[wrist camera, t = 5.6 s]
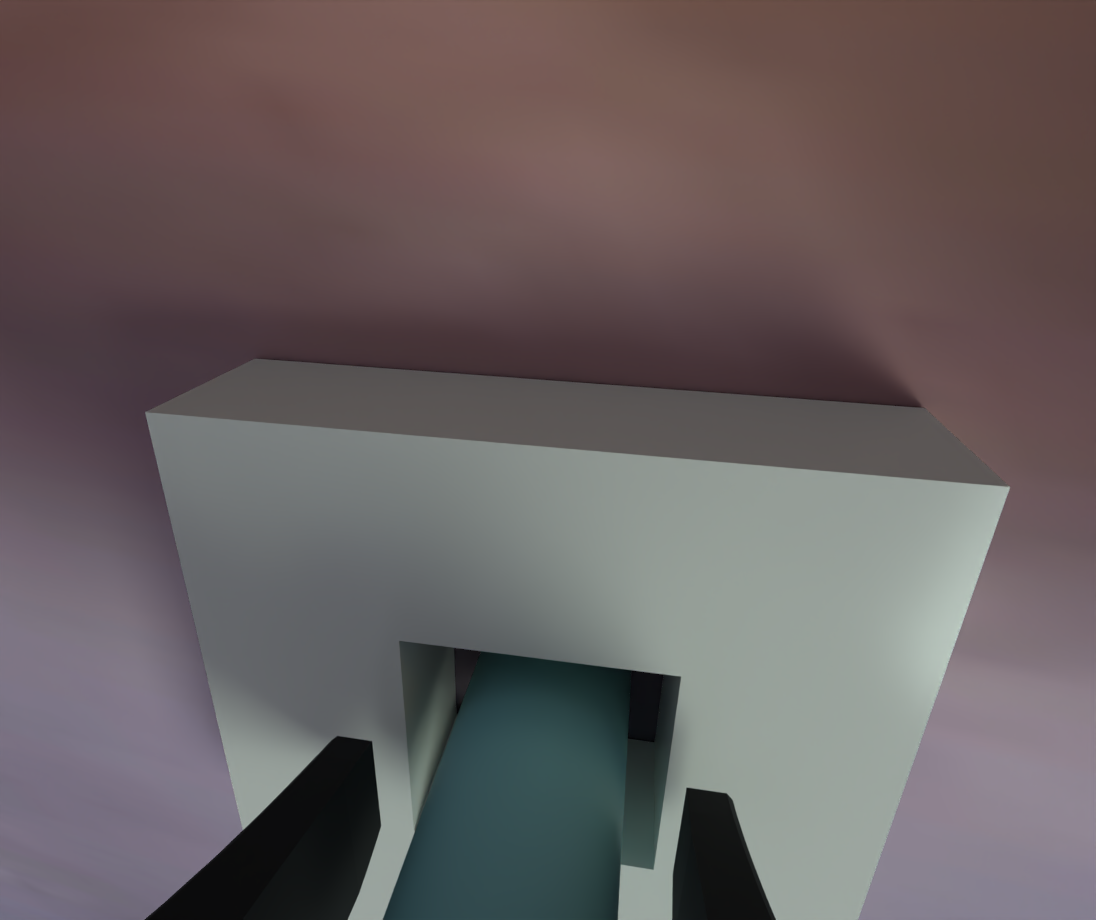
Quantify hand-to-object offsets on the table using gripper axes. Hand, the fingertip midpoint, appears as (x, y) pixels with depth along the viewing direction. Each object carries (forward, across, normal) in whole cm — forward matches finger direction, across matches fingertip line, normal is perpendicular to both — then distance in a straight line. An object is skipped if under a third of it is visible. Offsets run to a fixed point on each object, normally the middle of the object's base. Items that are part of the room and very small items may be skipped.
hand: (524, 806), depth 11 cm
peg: (+4, 0, 0) cm, 4 cm away
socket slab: (+4, 0, 0) cm, 4 cm away
